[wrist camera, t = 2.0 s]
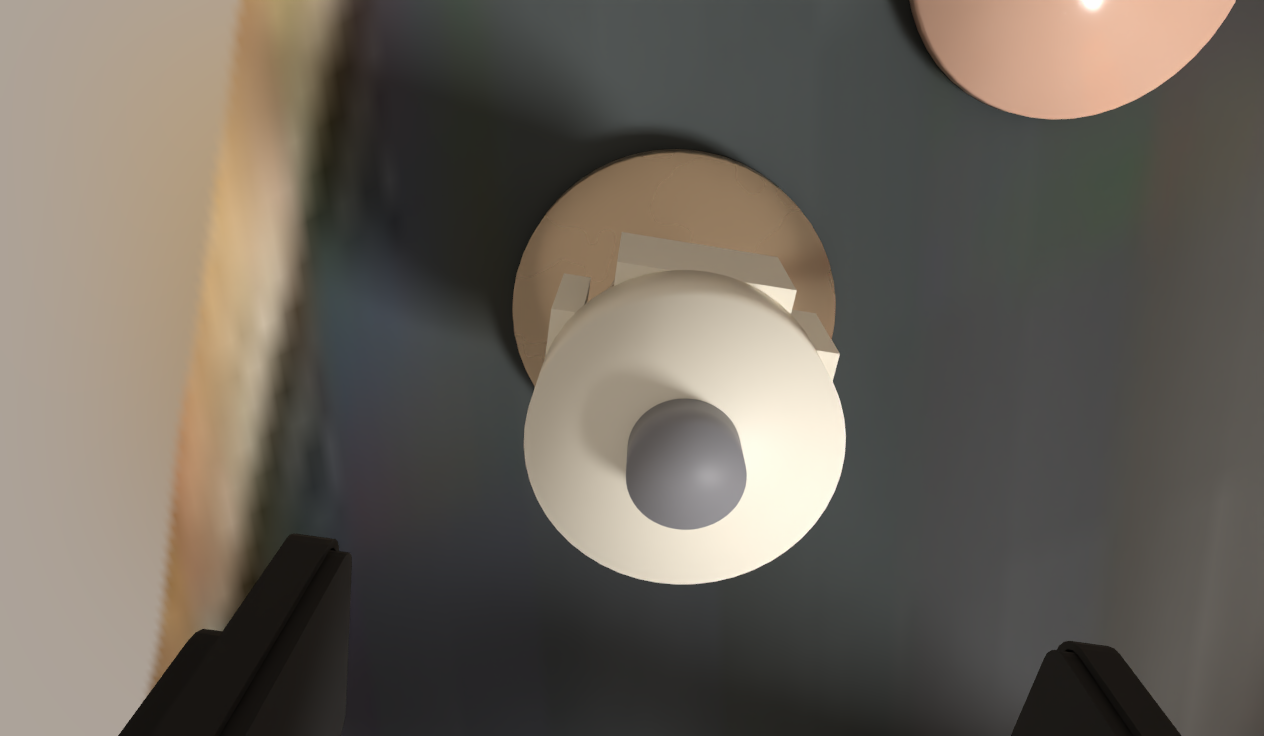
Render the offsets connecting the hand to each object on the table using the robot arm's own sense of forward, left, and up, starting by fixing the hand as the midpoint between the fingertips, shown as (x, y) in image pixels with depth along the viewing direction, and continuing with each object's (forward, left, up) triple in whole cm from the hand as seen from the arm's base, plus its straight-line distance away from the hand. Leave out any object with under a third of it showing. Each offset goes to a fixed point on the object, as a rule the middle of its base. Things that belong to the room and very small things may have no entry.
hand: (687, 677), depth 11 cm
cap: (0, 0, -12) cm, 12 cm away
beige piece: (0, 0, -17) cm, 17 cm away
